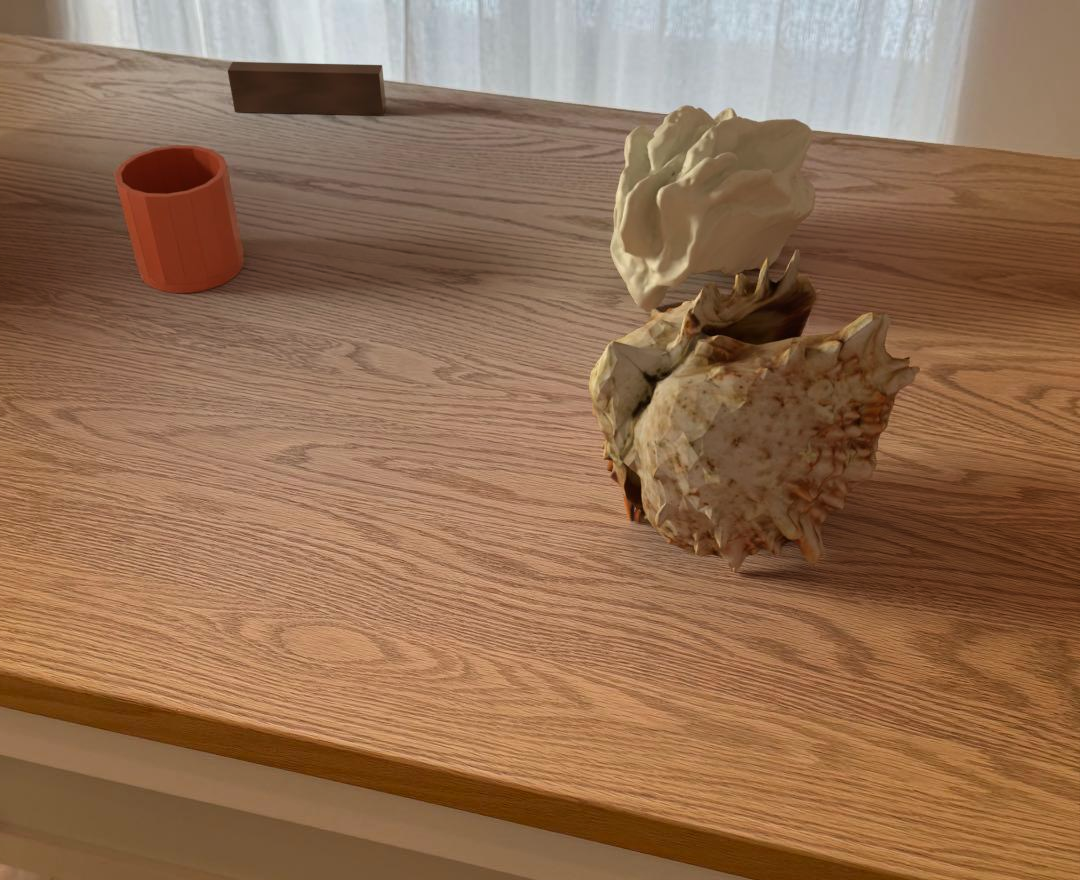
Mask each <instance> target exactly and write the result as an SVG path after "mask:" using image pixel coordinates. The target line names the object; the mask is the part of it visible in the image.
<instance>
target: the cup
mask: <svg viewBox="0 0 1080 880" xmlns="http://www.w3.org/2000/svg"><path fill="white" fill-rule="evenodd" d="M113 176H114V181H115V184H116V189H117V193H118V196H119V197H118V198H119V200H120V204H121V208H122V212H123V216H124V220H125V223H126V227H127V231H128V232H127V233H128V235H129V239H130V243H131V247H132V251H133V255H134V259H135V263H136V267H137V269H138V273H139V274H138V275H139V276H140V278H141V280H142V281H143V282H144V284H146V285H148V287H150V288H153V289H154V290H158V291H160V292H165V293H171V294H191V293H198V292H199V293H200V292H204V291H208V290H213V289H215V288H217V287H219V286H221V285H223V284H226V283H228V282H230V281H231V280H232V279H234V278H235V277H236V276H238V274H239V273H240V272H241V271H242V269H243V267H244V264H245V257H244V247H243V243H242V237H241V232H240V227H239V222H238V217H237V216H238V215H237V210H236V206H235V200H234V195H233V190H232V184H231V179H230V174H229V168H228V164H227V161H226V159H225V157H224V156H223V155H221V154H220V153H219V152H217V151H215V150H214V149H211V148H207V147H203V146H199V145H188V144H187V145H183V144H175V145H166V146H160V147H155V148H151V149H148V150H145V151H142V152H139V153H135V154H133V155H132V156H130V157H129V158H127V159H126V160H125V161H122V162H121V163H120V164H119V166H118V167H117V169H116V171H115V172H114V175H113Z"/></svg>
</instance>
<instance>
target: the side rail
mask: <svg viewBox="0 0 1080 880" xmlns="http://www.w3.org/2000/svg"><path fill="white" fill-rule="evenodd" d="M227 76H228V82H229V89H230V92H231V93H230V94H231V98H232V104H233V110H234V113H253V114H254V113H255V114H258V113H259V114H293V115H294V114H297V115H301V114H302V115H341V116H344V115H346V116H384V114H385V111H386V108H387V102H386V93H385V92H386V91H385V81H384V80H385V79H384V69H383V64H358V63H357V64H356V63H355V64H354V63H353V64H351V63H347V64H346V63H345V64H344V63H306V62H305V63H304V62H262V61H261V62H258V61H254V62H253V61H232V62H231V63H230V65H229V67H228V69H227Z"/></svg>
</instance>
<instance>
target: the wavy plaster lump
mask: <svg viewBox="0 0 1080 880" xmlns="http://www.w3.org/2000/svg"><path fill="white" fill-rule="evenodd" d="M813 139H814V133H813V130H812V129H811V127H809V125H808V124H806V123H804V122H802V121H800V120H798V119H795V118H791V119H790V118H786V119H785V118H784V119H783V118H781V119H779V118H776V119H775V118H774V119H767V120H762V121H757V120H753V119H750V118H747V117H742V116H738V114H737V113H736V111H735V110H734V108H732V107H728V108H725V109H723V110H721V111H720V112H719V113H718V114H717V115H716V116H715V117H712V115H710V114H709V113H708V112H707V111H706V110H704V109H703V108H701V107H697V108H696V107H695V106H693V105H688V104H686V105H681V106H679V107H678V108H677V109H675V110H673V111H671V112H669V113H668V114H667V115H666V116H665V117H664V119H663V123H662V124H660V125H659V126H658V127H656V129H655V130H654V132H653V133H652V132H651V130H650V129H649V128H648V127H647V126H646V125H643V124H639V125H637V126H636V127H635V128H633V130H631V131H630V132H629V134H628V135H627V136H626V138H625V141H624V149H623V155H624V162H625V165H624V166H625V167H624V168H623V170H622V172H621V174H620V176H619V181H618V186H617V189H616V193H615V205H614V208H613V233H612V236H611V241H610V246H609V251H610V255H611V259H612V261H613V264H614V266H615V268H616V269H617V271H618V273H619V275H620V276H621V278H622V280H623V282H624V283H625V285H626V288H627V291H628V293H629V295H630V296H631V298H632V300H633V302H634V303H635V305H636V306H637V307H638V308H640V309H642V310H643V311H645V312H652V309H656V308H657V307H658V306H660V304H661V303H662V302H663V301H664V299H665V297H666V295H667V292H668V289H669V287H672V288H676V287H678V286H680V285H681V284H682V283H683V282H685V280H687V278H689V276H691V274H693V275H698V274H703V273H707V272H709V271H717V272H721V273H722V274H724V275H727V274H728V275H735V276H736V275H739V274H741V273H743V272H744V271H750V270H755V269H759V270H761V269H762V266H763V264H764V262H765V260H766V258H767V256H768V258H769V259H770V260H769V267H771V266H772V265H773V264H774V263H775V262H776V261H777V260H778V259H779V257H780V254H781V253H782V250H783V248H784V247H785V246H786V245H787V242H788V239H789V238H790V237H791V236H792V235H793V234H794V233H795V232H796V231H797V230H798V228H799V226H800V224H801V223H802V222H803V221H805V220H806V219H807V218H808V217H809V216H810V215H811V214H812V212H813V211H814V207H815V204H816V197H817V196H816V188H815V186H814V185H813V184H812V182H811V181H810V180H809V179H803V178H802V177H797V174H799V172H800V171H801V170H802V168H803V166H804V163H805V159H806V156H807V153H808V150H809V148H810V147H811V146H812V143H813Z"/></svg>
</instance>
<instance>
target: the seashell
mask: <svg viewBox="0 0 1080 880" xmlns="http://www.w3.org/2000/svg"><path fill="white" fill-rule="evenodd" d="M800 251H801V250H800V249H795V250H794V253H793V255H792V257H791V259H790V261H789V263H788V265H787V266H786V269H785V271H784V273H783V275H782V276H781V278H780V279H778V280H777V281H774V280H772V279H771V277H770V266H769V260H770V259H769V258H768V256H767V258H766V260H765V262H764V264H763V266H762V269H760V271H759V274H758V275H759V276H758V280H757V282H756V281H752V280H750V279H749V278H747V277H746V276H745V274H744V273H743V272H741V273H738V274H736V275H735V280H734V286H733V288H732V290H731V292H730V294H728V295H727V296H726V295H725V296H724V295H723V294H721V292H720V290H719V289H718V285H717V283H716V282H713V281H710V282H708V283H707V284H705V285H704V286H703V287H702V288H701V290H700V292H699V293H698V295H697V296H696V297H695V299H691V300H687V301H683V302H682V304H681V305H679V306H677V307H673V308H667V310H666V311H665V312H662V311H660V310H658V309H656V308H655V309H652V310H651V311H650V317H649V320H648V321H647V322H646V323H645V324H643V325H642V326H641V327H638V328H636V329H634V330H633V331H631V332H629V333H627V334H625V336H623V337H621V338H619V339H611V341H610V342H609V343H608V344H607V345H606V347H605V349H604V351H603V353H602V355H601V356H600V357H599V359H598V360H597V361H596V363H595V365H594V366H593V368H592V370H591V371H590V375H589V376H590V377H589V382H588V390H589V394H590V398H591V402H592V411H591V414H592V415H593V417H594V419H596V421H597V424H598V426H599V428H600V431H601V433H602V434H603V437H604V441H603V443H602V445H601V449H602V450H603V456H602V460H605V461H608V462H607V467H606V471H607V472H610V475H609V478H610V479H611V480H612V481H613V482H615V483H617V484H618V485H619V487H620V489H621V492H622V494H623V495H622V496H623V501H624V508H625V512H626V515H627V519H628V521H629V520H630V521H631V522H635V523H637V524H642V523H643V522H644V520H645V517H646V518H647V520H648V522H649V524H650V525H651V526H652V528H653V529H654V530H656V532H657V533H658V534H660V536H661V537H662V538H663V539H664V540H665V541H666V542H667V543H668V545H673V546H675V547H677V548H680V549H681V550H684V551H686V552H689V553H693V554H695V555H697V556H698V557H702V558H703V557H706V556H715V557H719V558H722V559H723V560H724V561H725V562H726V563H727V565H728V566H729V569H730V570H731V572H732V573H733V572H735V571H736V572H737V571H738V570H739V569H740V568H741V566H742V565H743V563H744V562H745V559H746V558H747V557H749V556H756V555H757V554H758V553H759V551H761V550H763V551H764V550H766V551H767V552H768V553H769V554H770V553H772V555H773V556H774V557H778V556H780V554H781V551H782V548H783V547H784V546H785V545H786V544H787V543H791V542H795V545H797V547H798V549H799V550H800V552H801V554H802V555H803V557H804V559H805V560H806V562H807V563H809V564H811V565H812V566H817V565H818V564H819V560H820V558H823V557H824V556H825V552H826V548H825V545H824V542H823V539H822V530H821V529H822V528H821V526H822V524H823V523H824V522H825V521H826V520H827V518H828V516H829V515H830V513H832V512H833V511H836V510H839V509H842V510H843V509H844V507H846V503H847V496H848V494H849V492H851V491H852V490H853V489H854V488H855V487H856V486H857V485H858V484H859V483H860V482H867V481H870V480H871V479H873V473H874V472H875V471H876V468H877V466H878V462H877V456H876V455H877V454H876V453H877V451H878V450H879V439H880V437H881V434H882V433H884V431H885V430H886V429H887V428H888V425H889V419H890V415H891V413H892V411H893V409H894V405H895V402H896V397H897V395H898V394H899V392H900V391H901V390H903V389H905V388H907V387H908V386H909V385H912V384H913V383H914V382H915V379H916V375H917V374H919V373H920V372H921V368H920V366H918V365H917V366H916V365H915V366H913V365H912V366H910V364H911V361H910V358H911V356H907V357H903V358H899V357H894V356H892V355H891V353H889V352H887V349H886V346H885V344H886V340H887V334H888V330H889V328H890V326H891V324H892V321H891V319H890V316H889V314H888V313H885V312H878V311H877V312H876V311H870V312H867V313H863V314H861V315H860V316H858V317H857V318H856V319H855V320H853V321H852V322H851V323H849V324H847V325H846V326H844V327H843V328H841V329H840V330H838V331H835V332H832V333H823V334H811V335H803V332H804V330H805V328H806V325H807V323H808V320H809V318H810V315H811V314H812V312H813V307H814V305H815V303H816V302H817V297H818V296H819V293H820V291H821V289H818V290H816V289H815V287H814V284H812V281H811V279H810V277H809V276H808V275H807V274H802V273H801V274H798V273H799V267H800V261H801V260H800V259H801V255H800ZM736 572H735V573H736Z"/></svg>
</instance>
